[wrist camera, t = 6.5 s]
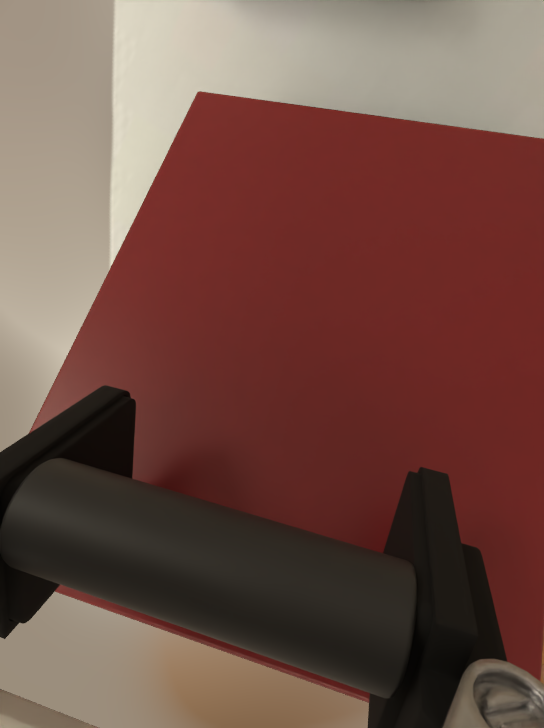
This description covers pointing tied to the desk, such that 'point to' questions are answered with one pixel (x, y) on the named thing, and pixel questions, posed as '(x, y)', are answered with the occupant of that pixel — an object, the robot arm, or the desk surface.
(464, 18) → the desk surface
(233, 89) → the desk surface
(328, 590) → the lid
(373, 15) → the desk surface
